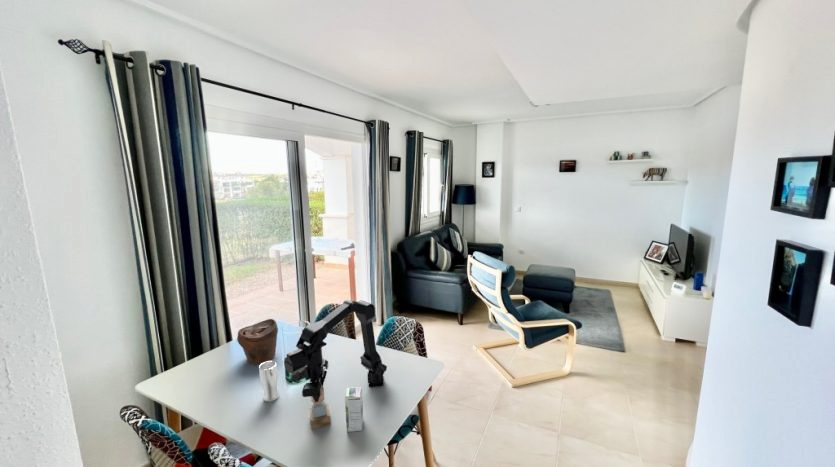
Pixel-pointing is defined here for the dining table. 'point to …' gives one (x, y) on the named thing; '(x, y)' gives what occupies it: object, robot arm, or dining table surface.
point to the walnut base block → (320, 419)
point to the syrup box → (354, 409)
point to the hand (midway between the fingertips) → (317, 397)
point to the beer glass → (269, 380)
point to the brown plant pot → (259, 341)
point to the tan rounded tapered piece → (319, 398)
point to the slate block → (319, 409)
